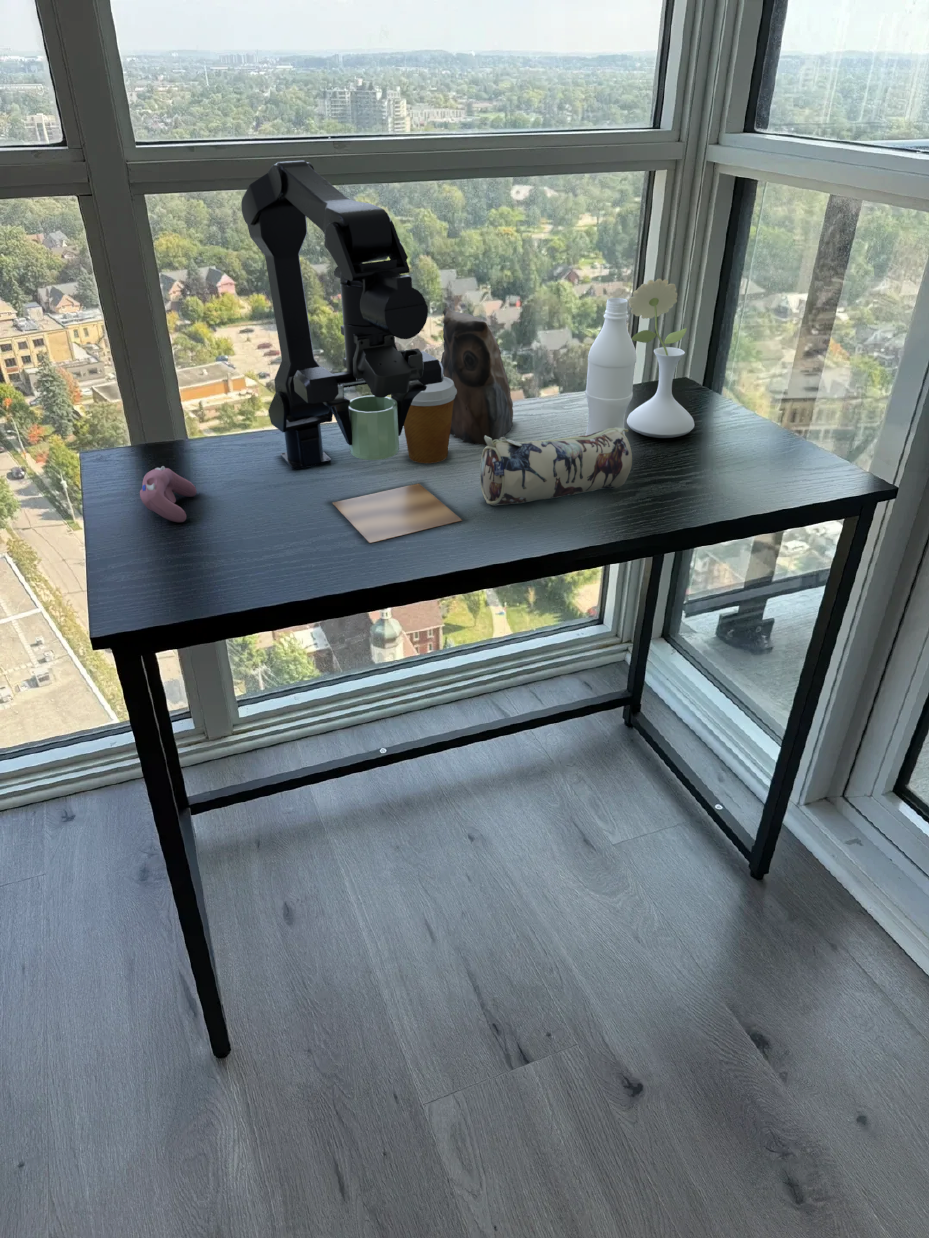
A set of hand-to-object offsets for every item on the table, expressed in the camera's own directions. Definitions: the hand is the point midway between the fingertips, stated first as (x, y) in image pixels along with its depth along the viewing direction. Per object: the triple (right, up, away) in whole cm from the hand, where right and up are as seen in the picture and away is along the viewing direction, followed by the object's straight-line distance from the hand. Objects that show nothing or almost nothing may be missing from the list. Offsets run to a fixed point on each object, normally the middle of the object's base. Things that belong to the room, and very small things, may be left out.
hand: (373, 439), depth 116 cm
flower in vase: (+45, +8, +33) cm, 56 cm away
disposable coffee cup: (+6, +2, +24) cm, 25 cm away
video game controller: (-30, -9, +8) cm, 32 cm away
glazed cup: (0, -1, +1) cm, 2 cm away
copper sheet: (+2, -9, +7) cm, 12 cm away
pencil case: (+25, -6, +12) cm, 29 cm away
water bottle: (+34, 0, +21) cm, 40 cm away
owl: (+15, +8, +33) cm, 37 cm away
